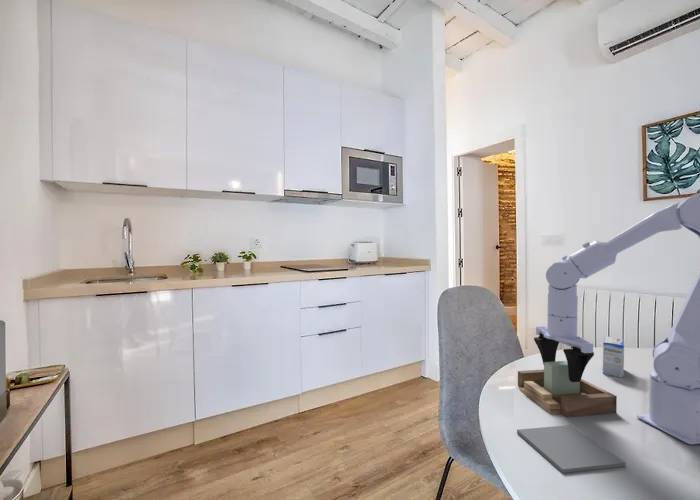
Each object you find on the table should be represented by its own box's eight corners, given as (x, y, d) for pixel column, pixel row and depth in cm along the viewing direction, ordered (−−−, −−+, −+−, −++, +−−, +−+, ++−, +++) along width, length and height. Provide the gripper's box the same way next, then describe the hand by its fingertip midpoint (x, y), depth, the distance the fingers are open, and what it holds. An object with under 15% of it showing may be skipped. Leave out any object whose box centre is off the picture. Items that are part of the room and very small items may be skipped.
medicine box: (603, 365, 96) (604, 335, 96) (623, 369, 93) (624, 338, 93) (602, 374, 90) (602, 342, 89) (623, 378, 87) (624, 345, 87)
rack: (616, 412, 69) (616, 396, 69) (566, 417, 67) (566, 399, 67) (559, 382, 84) (559, 368, 84) (517, 385, 83) (517, 371, 83)
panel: (579, 399, 75) (579, 364, 75) (551, 401, 74) (551, 365, 74) (571, 394, 77) (571, 360, 77) (543, 396, 76) (544, 362, 76)
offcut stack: (561, 414, 69) (561, 400, 69) (550, 415, 69) (550, 400, 69) (529, 391, 80) (529, 379, 80) (519, 391, 80) (520, 379, 80)
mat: (625, 466, 52) (625, 462, 52) (562, 473, 51) (562, 469, 51) (570, 428, 63) (570, 425, 63) (517, 432, 62) (517, 429, 62)
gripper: (524, 309, 82) (524, 363, 82) (571, 323, 68) (571, 389, 68) (550, 308, 83) (550, 362, 83) (602, 322, 69) (601, 387, 69)
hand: (561, 374), depth 76 cm, fingers open, 7 cm apart
